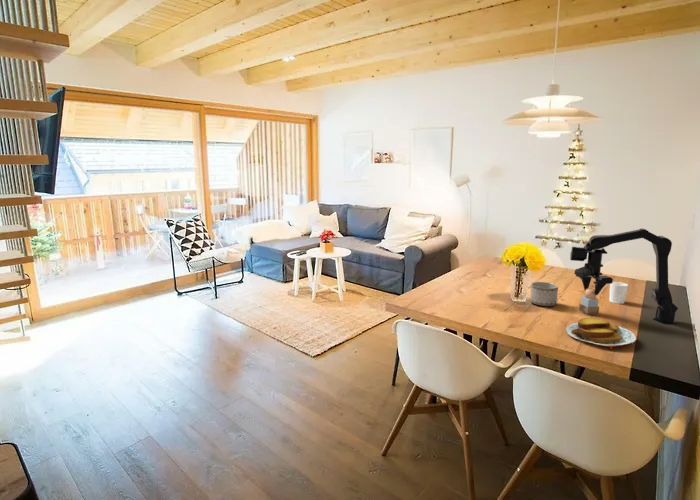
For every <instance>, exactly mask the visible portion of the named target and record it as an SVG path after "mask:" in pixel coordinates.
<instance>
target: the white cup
mask: <svg viewBox="0 0 700 500" xmlns="http://www.w3.org/2000/svg"><path fill="white" fill-rule="evenodd" d="M628 287H629V284H628V283H626V282H625V283H624V282H621V281H613V282H612V283H611V284H609V299H608V301H609V302H610V303H611V304H612V303H613V304H618V305H621V304H622V305H623V304H625V301H626V298H627V294H628V293H627V292H628Z"/></svg>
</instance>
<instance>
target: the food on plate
mask: <svg viewBox="0 0 700 500" xmlns="http://www.w3.org/2000/svg"><path fill="white" fill-rule="evenodd" d="M565 331H566V332H567V333H566V334H568V336H570V337H572V338H573V339H577V340H580V341H583V342H587V343H591V344H594V345H598V346H602V347H603V346H604V347H609V350H613V347H621V346H625V345H630V344H632V345H634V343H635V341H637V339H638V337H637V336H636V334H635V333H634V332H632V331H631V330H628V328H624V327H622V326H620V325H615V324H611V323H610V322H609V321H607V320H605V319H602V318H595V317H584V318H581V319H579V320H578V321H577V322H574V323H572V324H569V325H568V326H567V327H566V328H565ZM584 339H585V340H584ZM586 340H588V341H586Z"/></svg>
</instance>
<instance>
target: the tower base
mask: <svg viewBox="0 0 700 500" xmlns="http://www.w3.org/2000/svg"><path fill="white" fill-rule="evenodd" d="M578 312H580V313H581V314H583V315H586V316H598V315H599V312H600V306H598V307H586V306H584V305H582V304H581V303H579V306H578Z"/></svg>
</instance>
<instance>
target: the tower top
mask: <svg viewBox="0 0 700 500" xmlns="http://www.w3.org/2000/svg"><path fill="white" fill-rule="evenodd" d="M580 304H582V305H584V306H586V307H599V299H598V298H597V297H596V299H588V298H585V295H584V296H583V295H582V296H581V302H580Z"/></svg>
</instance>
